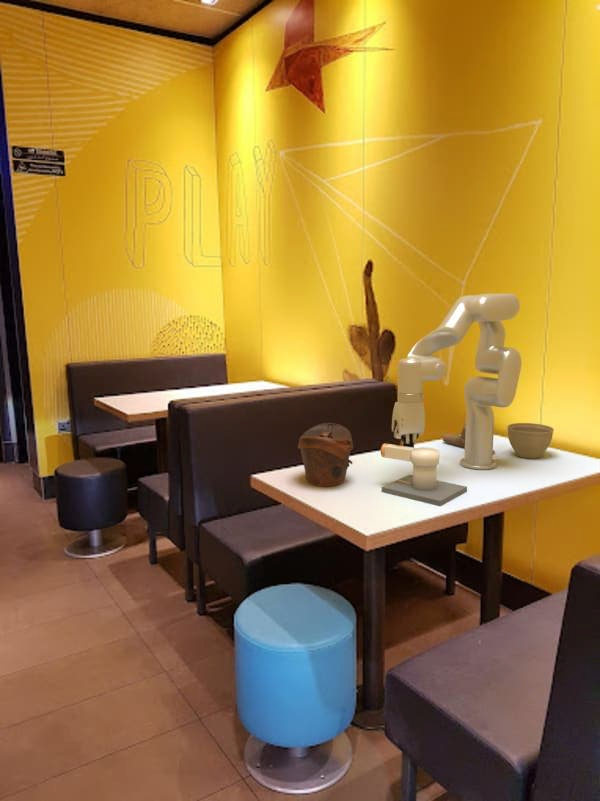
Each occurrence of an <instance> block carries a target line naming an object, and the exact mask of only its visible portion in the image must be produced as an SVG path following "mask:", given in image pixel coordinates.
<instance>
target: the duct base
mask: <svg viewBox="0 0 600 801" xmlns="http://www.w3.org/2000/svg"><path fill="white" fill-rule="evenodd" d="M412 465H413V466H412V474H408V475H406V476H404V477H402V478H399V479H397V480H395V481H392V482H390V483H388V484H385V485H383V486H381V492H382V493H386V494H390V495H393V496H397V497H403V498H405V499H406V498H407V499H410V500H415V501H418V502H422V503H426V504H430V505H435V506H439V507H440V506H443V505H444V504H447V503H449V502H450V501H452V500H455V498H458V497H459V496H461V495H463V494H465V493H467V492H468V486H465V485H460V484H455V483H451V482H447V481H443V480H437V466H438V465H435V466H419V465H415V464H413V463H412Z"/></svg>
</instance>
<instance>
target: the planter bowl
mask: <svg viewBox="0 0 600 801" xmlns="http://www.w3.org/2000/svg"><path fill="white" fill-rule="evenodd" d="M506 427H507V438H508V441H509V444H510V446H511V447H512V449H513V451H514V454H515V455H516V456H517V457H520V458H524V459H541V458H542V457H543V456H544V453H545V452H546V451H547V450H548V448H549V447H550V445H551V442H552V440H553V434H554V431H555V430H554V428H553V427H551V426H550V425H546V424H541V423H540V424H539V423H534V422H533V423H532V422H531V423H530V422H516V423H511V424H508V425H507V426H506Z"/></svg>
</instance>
